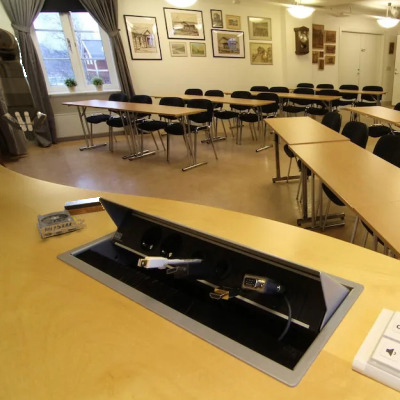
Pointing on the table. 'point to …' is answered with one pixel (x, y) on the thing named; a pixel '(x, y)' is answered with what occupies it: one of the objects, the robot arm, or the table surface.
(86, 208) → the brush
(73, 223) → the graphics card
